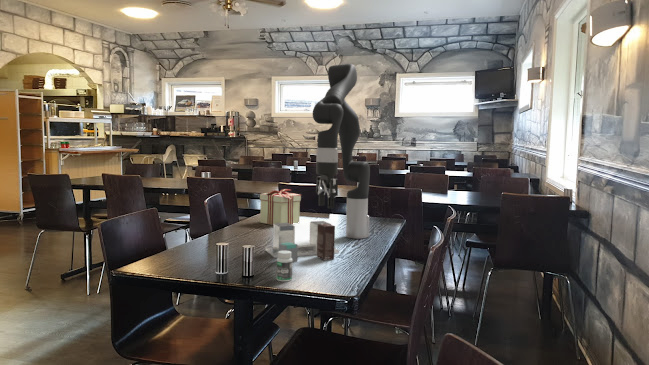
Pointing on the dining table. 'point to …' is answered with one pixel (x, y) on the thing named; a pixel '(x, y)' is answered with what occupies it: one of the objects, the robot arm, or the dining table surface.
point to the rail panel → (287, 234)
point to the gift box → (280, 207)
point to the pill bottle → (284, 266)
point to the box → (325, 241)
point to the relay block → (289, 249)
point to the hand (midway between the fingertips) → (326, 206)
